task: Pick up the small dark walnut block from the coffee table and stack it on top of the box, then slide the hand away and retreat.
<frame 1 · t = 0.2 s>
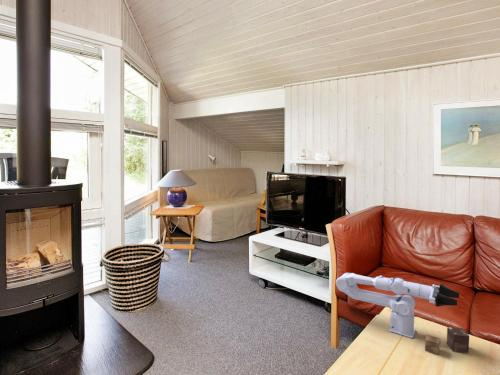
hand: (458, 299, 128), 21 cm above the table, tool horizontal, fingers open, 7 cm apart
box: (457, 348, 130), on the table
walnut block: (432, 350, 128), on the table
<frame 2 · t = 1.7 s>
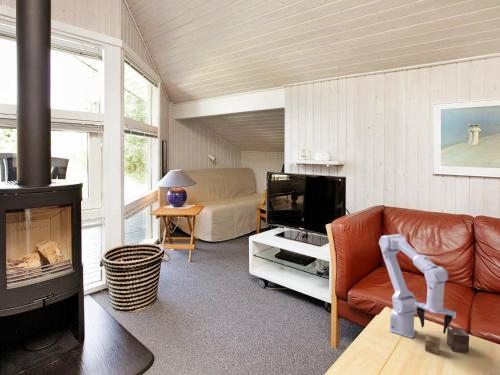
hand: (433, 329, 127), 9 cm above the table, tool pointing down, fingers open, 7 cm apart
nothing on the table moved.
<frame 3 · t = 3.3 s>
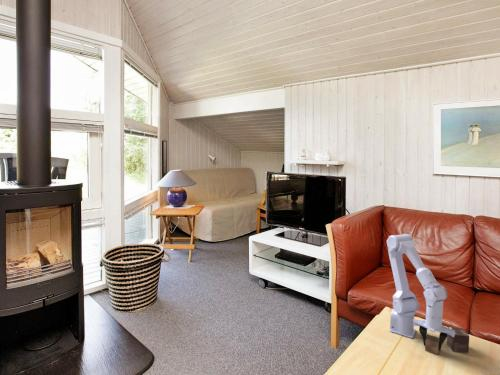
hand: (432, 346, 128), 1 cm above the table, tool pointing down, fingers closed on walnut block, 4 cm apart
walnut block: (432, 350, 128), on the table, touching gripper
everything else where it was.
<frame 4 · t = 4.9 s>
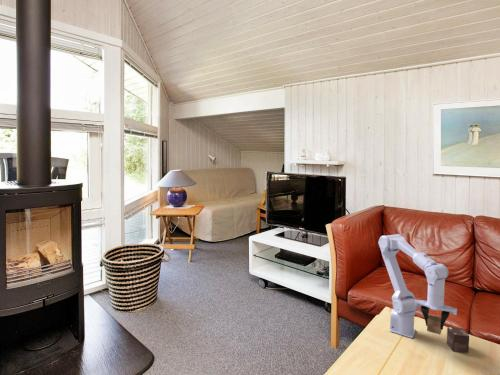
hand: (434, 326, 127), 10 cm above the table, tool pointing down, fingers closed on walnut block, 4 cm apart
walnut block: (434, 330, 127), point 9 cm above the table, touching gripper
everything else where it was.
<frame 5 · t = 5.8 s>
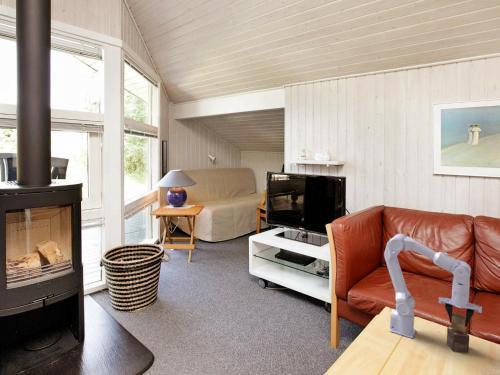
hand: (458, 324, 129), 10 cm above the table, tool pointing down, fingers closed on walnut block, 4 cm apart
walnut block: (458, 327, 129), point 9 cm above the table, touching gripper
everything else where it was.
when the fingers open (9 cm above the table, at t = 6.6 s): walnut block stays where it is, resting on box.
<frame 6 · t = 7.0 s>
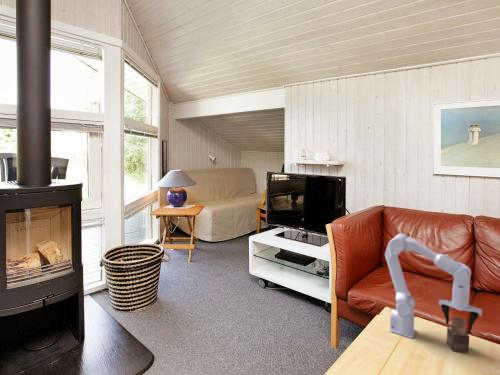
hand: (458, 326, 129), 9 cm above the table, tool pointing down, fingers open, 7 cm apart
box: (457, 348, 130), on the table, touching walnut block
walnut block: (458, 331, 129), point 7 cm above the table, touching box
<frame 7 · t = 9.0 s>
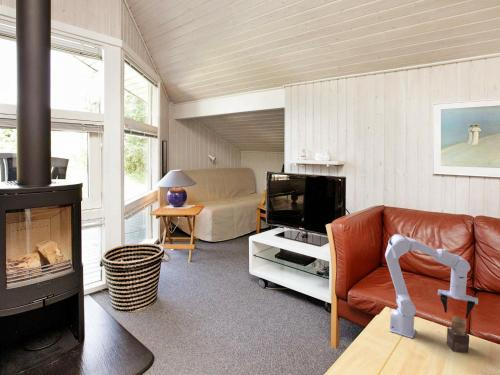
hand: (456, 314, 136), 10 cm above the table, tool pointing down, fingers open, 7 cm apart
nothing on the table moved.
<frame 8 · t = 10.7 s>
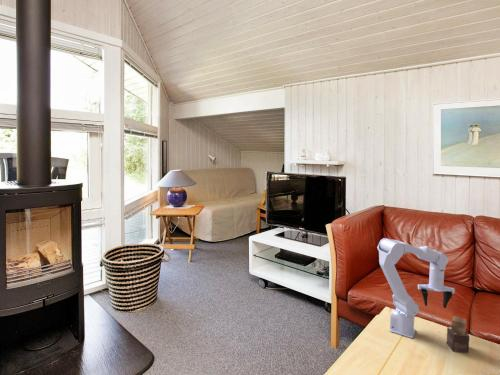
hand: (434, 305, 144), 10 cm above the table, tool pointing down, fingers open, 7 cm apart
nothing on the table moved.
at the end: walnut block 0.1 cm off-centre on the box, point 7.5 cm above the box's base; walnut block tilted 0°; the gripper is holding nothing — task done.
